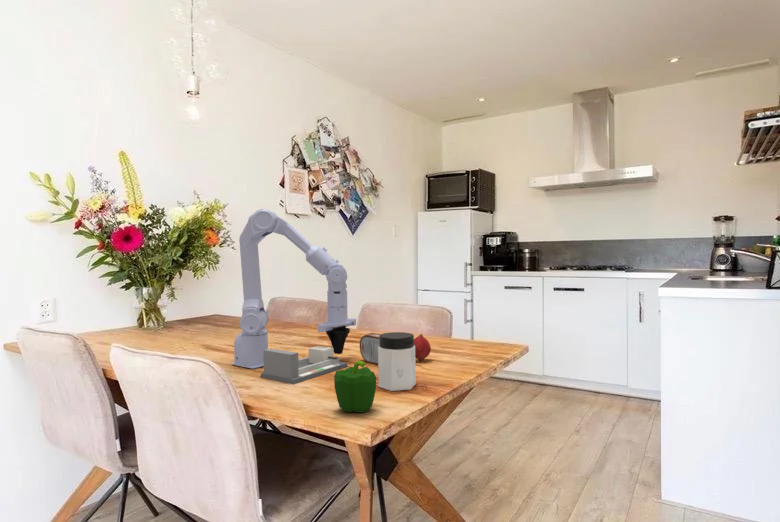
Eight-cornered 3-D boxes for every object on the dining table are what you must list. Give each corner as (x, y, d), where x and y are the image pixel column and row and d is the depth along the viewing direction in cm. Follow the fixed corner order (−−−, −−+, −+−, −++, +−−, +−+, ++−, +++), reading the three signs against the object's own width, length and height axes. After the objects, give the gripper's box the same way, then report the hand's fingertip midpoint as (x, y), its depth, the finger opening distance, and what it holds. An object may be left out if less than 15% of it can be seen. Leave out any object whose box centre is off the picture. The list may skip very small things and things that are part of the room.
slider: (308, 362, 128) (308, 348, 128) (319, 359, 132) (319, 345, 131) (332, 366, 123) (331, 351, 123) (342, 363, 127) (342, 348, 127)
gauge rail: (260, 377, 118) (260, 349, 118) (315, 361, 135) (315, 337, 135) (293, 384, 111) (293, 355, 111) (347, 366, 128) (346, 341, 128)
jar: (382, 392, 104) (381, 339, 103) (375, 382, 112) (374, 333, 111) (420, 389, 106) (419, 337, 105) (411, 379, 114) (410, 331, 113)
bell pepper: (330, 406, 95) (329, 357, 95) (368, 400, 98) (367, 353, 98) (341, 419, 87) (340, 366, 87) (382, 413, 90) (381, 362, 90)
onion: (407, 362, 131) (407, 334, 131) (414, 358, 137) (414, 331, 137) (427, 364, 129) (427, 335, 129) (433, 359, 135) (433, 332, 134)
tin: (403, 367, 126) (402, 336, 126) (395, 369, 124) (394, 338, 124) (365, 359, 137) (365, 330, 136) (357, 361, 134) (357, 332, 134)
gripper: (330, 310, 125) (331, 360, 126) (363, 304, 137) (364, 350, 138) (312, 308, 129) (312, 357, 130) (345, 303, 141) (346, 347, 142)
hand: (338, 353), depth 134 cm, fingers closed
